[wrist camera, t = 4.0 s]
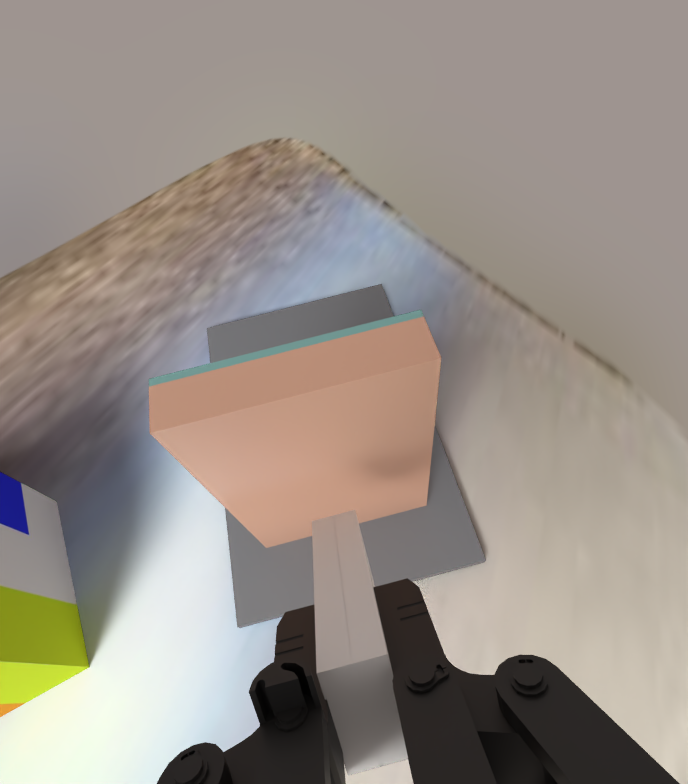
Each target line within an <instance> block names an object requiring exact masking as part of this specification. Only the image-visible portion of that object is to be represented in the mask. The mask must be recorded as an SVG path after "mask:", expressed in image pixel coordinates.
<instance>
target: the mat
mask: <svg viewBox="0 0 688 784" xmlns="http://www.w3.org/2000/svg"><path fill="white" fill-rule="evenodd" d="M390 317H394V316H393V313H392V310H391V308H390V305H389V302H388V300H387V297H386V294H385V292H384V289H383V287H382V284H380V285H376V286H372V287H368V288H364V289H360V290H356V291H352V292H348V293H344V294H340V295H336V296H332V297H328V298H324V299H320V300H317V301H313V302H309V303H305V304H301V305H297V306H293V307H289V308H285V309H281V310H277V311H273V312H269V313H265V314H261V315H257V316H253V317H249V318H245V319H241V320H238V321H234V322H230V323H226V324H222V325H218V326H214V327H210V328H207V334H208V344H209V353H210V363H213V362H217V361H221V360H225V359H229V358H233V357H237V356H241V355H245V354H249V353H253V352H257V351H260V350H264V349H268V348H272V347H276V346H280V345H284V344H288V343H292V342H296V341H300V340H304V339H308V338H311V337H315V336H319V335H323V334H327V333H331V332H335V331H339V330H343V329H347V328H351V327H355V326H358V325H362V324H366V323H370V322H374V321H378V320H382V319H386V318H390ZM225 510H226V520H227V530H228V540H229V550H230V559H231V569H232V579H233V589H234V599H235V608H236V618H237V627H239V628H242V627H245V626H249V625H253V624H256V623H260V622H264V621H268V620H271V619H275V618H279V617H282V616H283V615H284V613H285V612H288V611H291V610H295V609H299V608H303V607H306V606H310V605H314V573H313V541H312V536H310V537H306V538H302V539H298V540H295V541H291V542H287V543H283V544H280V545H276V546H272V547H268V548H266V547H265V546H264V545H263V544H262V543H261V542H260V541H259V540H258V539H257V538H256V537H255V536H254V535H253V534H252V533H251V532H250V531H248V530H247V529H246V528H245V527H244V526H243V525H242V524H241V523H240V522H239V521H238V520H237V519H236V518H235V517H234V516H233V515H232V514H231V513H230V512H229V511H228V510H227V509H226V508H225ZM359 527H360V531H361V534H362V538H363V542H364V546H365V550H366V554H367V557H368V561H369V565H370V569H371V573H372V577H373V581H374V585H375V587H376V586H380V585H384V584H388V583H391V582H395V581H399V580H403V579H406V578H408V579H409V580H411V581H416V580H420V579H424V578H427V577H431V576H435V575H439V574H442V573H446V572H450V571H453V570H457V569H461V568H465V567H468V566H472V565H476V564H479V563H483V562H485V561H486V559H485V556H484V554H483V551H482V548H481V546H480V543H479V540H478V538H477V535H476V532H475V530H474V527H473V525H472V522H471V519H470V517H469V514H468V511H467V509H466V506H465V503H464V501H463V498H462V495H461V493H460V490H459V488H458V485H457V482H456V480H455V477H454V474H453V472H452V469H451V466H450V464H449V461H448V458H447V456H446V453H445V451H444V448H443V445H442V443H441V440H440V437H439V435H438V432H437V429H436V427H435V426H434V436H433V446H432V456H431V466H430V476H429V486H428V496H427V506H423V507H419V508H415V509H411V510H408V511H404V512H400V513H396V514H393V515H389V516H385V517H381V518H378V519H374V520H370V521H366V522H362V523H359Z"/></svg>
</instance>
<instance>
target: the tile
mask: <svg viewBox="0 0 688 784" xmlns="http://www.w3.org/2000/svg"><path fill="white" fill-rule="evenodd" d="M440 367H441V356H440V354H439V351H438V349H437V346H436V344H435V342H434V339H433V337H432V335H431V332H430V330H429V327H428V325H427V323H426V320H425V318H424V316H423V313H422V311H421V310H417V311H413V312H409V313H406V314H402V315H398V316H394V317H390V318H386V319H382V320H378V321H374V322H370V323H366V324H362V325H358V326H355V327H351V328H347V329H343V330H339V331H335V332H331V333H327V334H323V335H319V336H315V337H311V338H308V339H304V340H300V341H296V342H292V343H288V344H284V345H280V346H276V347H272V348H268V349H264V350H260V351H257V352H253V353H249V354H245V355H241V356H237V357H233V358H229V359H225V360H221V361H217V362H213V363H209V364H206V365H202V366H198V367H194V368H190V369H186V370H182V371H178V372H174V373H170V374H166V375H162V376H159V377H155V378H151V379H149V421H150V434H151V435H152V436H153V437H154V438H155V439H156V440H157V441H158V442H159V443H160V444H161V445H162V446H163V447H164V448H165V449H166V450H167V451H168V452H169V453H170V454H171V455H172V456H173V457H174V458H175V459H176V460H177V461H178V462H179V463H180V464H181V465H183V466H184V467H185V468H186V469H187V470H188V471H189V472H190V473H191V474H192V475H193V476H194V477H195V478H196V479H197V480H198V481H199V482H200V483H201V484H202V485H203V486H204V487H205V488H206V489H207V490H208V491H209V492H210V493H211V494H212V495H213V496H214V497H215V498H216V499H217V500H218V501H219V502H220V503H221V504H222V505H223V506H224V507H225V508H226V509H227V510H228V511H229V512H230V513H231V514H232V515H233V516H234V517H235V518H236V519H237V520H238V521H239V522H240V523H241V524H242V525H243V526H244V527H245V528H246V529H247V530H248V531H250V532H251V533H252V534H253V535H254V536H255V537H256V538H257V539H258V540H259V541H260V542H261V543H262V544H263V545H264V546H265V547H266V548H268V547H272V546H276V545H280V544H283V543H287V542H291V541H295V540H298V539H302V538H306V537H310V536H312V521H314V520H318V519H322V518H325V517H329V516H333V515H337V514H341V513H345V512H348V511H352V510H355V511H356V515H357V519H358V523H362V522H366V521H370V520H374V519H378V518H381V517H385V516H389V515H393V514H396V513H400V512H404V511H408V510H411V509H415V508H419V507H423V506H427V496H428V486H429V476H430V466H431V456H432V446H433V436H434V426H435V416H436V406H437V396H438V386H439V377H440Z"/></svg>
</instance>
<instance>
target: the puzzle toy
mask: <svg viewBox="0 0 688 784" xmlns="http://www.w3.org/2000/svg"><path fill="white" fill-rule="evenodd" d="M87 668H89V663H88V658H87V653H86V647H85V642H84V637H83V632H82V627H81V622H80V617H79V612H78V607H77V602H76V597H75V592H74V587H73V581H72V576H71V571H70V566H69V561H68V556H67V551H66V546H65V541H64V536H63V531H62V526H61V521H60V516H59V510H58V505H57V501H55V500H53V499H51V498H49V497H47V496H45V495H43V494H41V493H40V492H38V491H36V490H34V489H32V488H30V487H28V486H26V485H24V484H23V483H21V482H19V481H17V480H15V479H13V478H11V477H9V476H7V475H6V474H4V473H2V472H0V717H1V716H3V715H5V714H7V713H8V712H10V711H12V710H14V709H16V708H17V707H19V706H21V705H23V704H24V703H26V702H28V701H30V700H32V699H33V698H35V697H37V696H39V695H40V694H42V693H44V692H46V691H48V690H49V689H51V688H53V687H55V686H57V685H58V684H60V683H62V682H64V681H65V680H67V679H69V678H71V677H73V676H74V675H76V674H78V673H80V672H82V671H83V670H85V669H87Z"/></svg>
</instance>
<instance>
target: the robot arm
mask: <svg viewBox="0 0 688 784" xmlns="http://www.w3.org/2000/svg"><path fill="white" fill-rule="evenodd" d="M312 541H313V573H314V605H310V606H306V607H303V608H299V609H295V610H291V611H288V612H285V613H284V615H283V617H282V619H281V621H280V622H279V624H278V626H277V633H276V645H275V658H274V663H271V664H270V665H268V666H267V667H266V668H264V669H263V670H262V671H260V672H259V674H258V675H257V676H256V678H255V679H254V680H253V682H252V684H251V687H250V690H249V694H250V697H251V699H252V702H253V705H254V708H255V711H256V714H257V717H258V719H259V722H260V727H259V728H258V729H257V730H256V731H255V732H254V733H253V734H252V735H251V736H249V737H248V738H246V739H245V740H243V741H242V742H240V743H239V744H237V745H235V746H234V747H232V748H230V749H228V750H227V751H225V752H223V751H222V750H221V749H220V748H219V747H218V746H217V745H216V744H211V743H206V742H205V743H201V744H197V745H193V746H191V747H189V748H188V749H186V750H184V751H182V752H181V753H180V754H179V755H177V756H176V757H175V758H174V759H173V760H172V761H171V762H170V763H169V764H168V766H167V767H166V769H165V770H164V772H163V773H162V775H161V776H160V778H159V780H158V782H157V784H346V783H345V771H344V764H345V768H346V771H347V774H348V775H352V774H355V773H359V772H363V771H366V770H370V769H374V768H377V767H381V766H384V765H388V764H392V763H395V762H399V761H403V760H406V759H408V760H409V764H410V769H411V774H412V778H413V783H414V784H679V783H678V782H677V781H676V780H675V779H674V778H673V777H672V776H671V775H670V774H669V773H668V772H667V771H666V770H665V769H664V768H663V767H661V766H660V765H659V764H658V763H657V762H656V761H655V760H654V759H653V758H652V757H651V756H650V755H649V754H648V753H647V752H646V751H645V750H644V749H643V748H642V747H641V746H639V745H638V744H637V743H636V742H635V741H634V740H633V739H632V738H631V737H630V736H629V735H628V734H627V733H626V732H625V731H624V730H623V729H622V728H621V727H620V726H618V725H617V724H616V723H615V722H614V721H613V720H612V719H611V718H610V717H609V716H608V715H607V714H606V713H605V712H604V711H603V710H602V709H601V708H600V707H599V706H597V705H596V704H595V703H594V702H593V701H592V700H591V699H590V698H589V697H588V696H587V695H586V694H585V693H584V692H583V691H582V690H581V689H580V688H579V687H578V686H576V685H575V684H574V683H573V682H572V681H571V680H570V679H569V678H568V677H567V676H566V675H565V674H564V673H563V672H562V671H561V670H560V669H559V668H558V667H557V666H555V665H554V664H552V663H551V662H549V661H548V660H546V659H544V658H541V657H538V656H534V655H517V656H514V657H511V658H508V659H507V660H505V661H504V662H503V663H501V664H500V665H499V667H498V669H497V671H496V673H495V675H478V674H470V673H467V672H464V671H461V670H460V669H458V668H456V667H454V666H453V665H452V664H451V663H450V662H449V661H448V660H447V658H446V656H445V654H444V652H443V649H442V647H441V644H440V641H439V639H438V636H437V633H436V631H435V628H434V625H433V623H432V620H431V618H430V615H429V613H428V610H427V607H426V604H425V602H424V599H423V596H422V594H421V591H420V588H419V587H418V586H417V585H415V584H414V583H413V582H412V581H411V580H409V579H408V578H406V579H403V580H399V581H395V582H391V583H388V584H384V585H380V586H376V587H375V585H374V581H373V577H372V573H371V569H370V565H369V561H368V557H367V554H366V550H365V546H364V542H363V538H362V534H361V531H360V527H359V523H358V519H357V515H356V511H355V510H352V511H348V512H345V513H341V514H337V515H333V516H329V517H325V518H322V519H318V520H314V521H312Z"/></svg>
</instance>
